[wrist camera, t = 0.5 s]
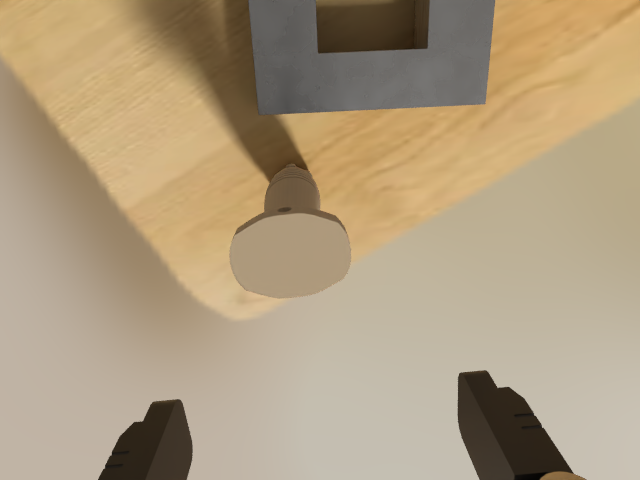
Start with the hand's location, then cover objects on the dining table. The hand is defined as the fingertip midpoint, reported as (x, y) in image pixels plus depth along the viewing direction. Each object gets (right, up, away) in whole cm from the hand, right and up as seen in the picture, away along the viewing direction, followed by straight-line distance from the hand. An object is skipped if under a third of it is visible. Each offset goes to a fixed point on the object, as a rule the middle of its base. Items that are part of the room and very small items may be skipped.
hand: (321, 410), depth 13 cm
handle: (-2, +10, +25) cm, 27 cm away
